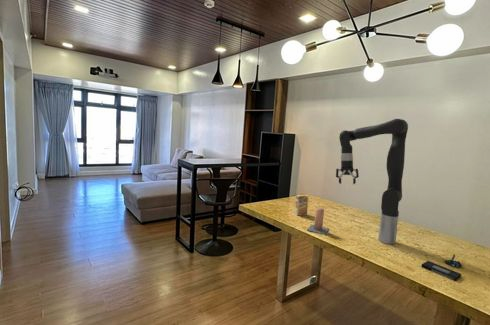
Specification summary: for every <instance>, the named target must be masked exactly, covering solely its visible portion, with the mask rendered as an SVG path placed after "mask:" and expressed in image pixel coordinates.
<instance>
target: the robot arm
mask: <svg viewBox="0 0 490 325" xmlns="http://www.w3.org/2000/svg"><path fill="white" fill-rule="evenodd" d="M408 129H409V124H408V122H407V120H405V119H401V118H393V119H391V120H389V121H386V122H384V123H380V124H376V125H370V126H364V127H358V128H355V129H354V130H341V132H340V133H339V143H340V147H341V148H340V149H341V152H340V153H341V155H340V160H341V161H340V164H341V165H340V168H336V169H335V177H336V178H337V179H338V184H340V185H342V177H343V176H351V177H352V184H353V185H355V184H357V180H356V179H358V178H359V177H360V176H359V175H360V174H359V169H358V168H354V155H353V145H352V144H351V141H352V142H353V141H356V140H362V139H368V138H372V137H375V136H381V135H391V144H390V147H389V149H388V152H387V156H386V172H387V178H388V183H387V187H386V188H387V190H385V191H384V192H382V195H381V202H380V203H381V204H380V208H381V214H380V221H379V222H380V223H379V231H378V241H379V242H380V243H383V244H387V245H396V241H397V234H398V221H399V215H400V213H399V212H400V211H399V205H400V203H399V202H401V201H402V198H403V187H402V186H403V184H402V183H403V175H404V168H405V159H406V158H405V157H406V156H405V155H406V139H407V135H408ZM340 172H341V174H340V175H339V173H340ZM353 172H355V174H354V173H353Z"/></svg>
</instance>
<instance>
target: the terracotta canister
mask: <svg viewBox="0 0 490 325" xmlns="http://www.w3.org/2000/svg"><path fill="white" fill-rule="evenodd" d="M324 214H325V208H323V207H316V208H315V214H314V224H313V225H314V229H315V230H318V231H321V230H322V227H324Z"/></svg>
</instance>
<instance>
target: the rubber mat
mask: <svg viewBox="0 0 490 325" xmlns="http://www.w3.org/2000/svg"><path fill="white" fill-rule="evenodd" d="M329 230H330V228H328V227H324V226H323V227H322V230H321V231H318V230H315V229H314V224H310V226H309V227H308V228H307V229H306V231H307V232H310V233H315V234H320V235H325V236H326V234H327V233H328V231H329Z"/></svg>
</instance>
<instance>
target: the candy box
mask: <svg viewBox="0 0 490 325" xmlns="http://www.w3.org/2000/svg"><path fill="white" fill-rule="evenodd" d="M308 205H309V196H308V195H307V194H300V195H299V194H297V195H295V206H294V207H295V208H294V210H295V211H294V214H295V215H296V216H307V215H308V208H309V206H308Z"/></svg>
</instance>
